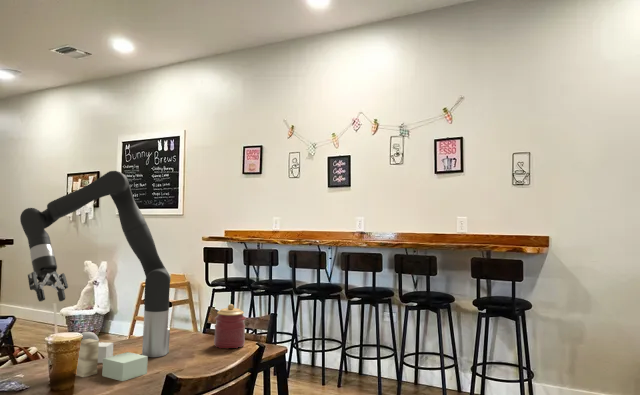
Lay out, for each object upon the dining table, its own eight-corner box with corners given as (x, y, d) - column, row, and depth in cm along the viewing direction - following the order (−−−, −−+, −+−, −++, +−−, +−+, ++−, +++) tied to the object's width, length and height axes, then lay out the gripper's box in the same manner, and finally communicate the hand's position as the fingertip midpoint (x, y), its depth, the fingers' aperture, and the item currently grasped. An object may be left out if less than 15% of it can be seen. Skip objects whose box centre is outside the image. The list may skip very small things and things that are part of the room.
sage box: (126, 369, 169) (127, 352, 170) (146, 374, 164) (147, 356, 165) (102, 376, 161) (103, 358, 161) (122, 382, 156) (123, 363, 156)
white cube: (89, 362, 175) (90, 346, 176) (96, 358, 181) (97, 342, 182) (105, 363, 175) (106, 346, 176) (112, 358, 181) (113, 342, 182)
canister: (207, 346, 203) (209, 304, 205) (228, 340, 214) (229, 300, 216) (230, 351, 197) (232, 307, 198) (250, 345, 208) (252, 304, 209)
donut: (72, 362, 175) (74, 334, 176) (68, 360, 177) (70, 332, 178) (100, 357, 183) (101, 330, 183) (96, 355, 185) (97, 329, 186)
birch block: (87, 370, 165) (89, 338, 166) (96, 373, 163) (98, 340, 164) (74, 374, 161) (76, 341, 162) (83, 377, 159) (85, 343, 159)
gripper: (34, 253, 168) (43, 296, 163) (66, 256, 181) (76, 296, 176) (18, 262, 170) (27, 305, 165) (51, 264, 183) (60, 304, 178)
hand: (52, 300), depth 170 cm, fingers open, 8 cm apart
